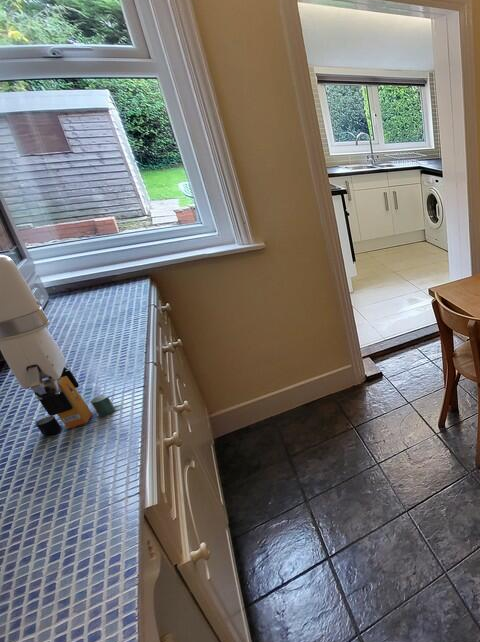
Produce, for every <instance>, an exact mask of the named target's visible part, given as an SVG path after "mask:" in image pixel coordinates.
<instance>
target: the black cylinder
mask: <svg viewBox="0 0 480 642" xmlns="http://www.w3.org/2000/svg"><path fill="white" fill-rule="evenodd" d="M35 426H36V427H37V428H38V430H39V432H40V433H41V435H42V436H43V437H44V438H47V437H52V436H55V435H57V434H59V433H60V432H61V431H62V430H63V428H62V426H61V424H60V423H59V422H58V420H57V419H56V417H55V415H53V416H50V415H49V416H44V417H43V418H39V420H37V421H36V422H35Z"/></svg>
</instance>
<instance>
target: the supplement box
mask: <svg viewBox="0 0 480 642" xmlns="http://www.w3.org/2000/svg"><path fill="white" fill-rule="evenodd" d="M57 383H58V386H59V389H60V392H61V391H64V393H65V394H66V396H67V398H68V399H69V401H70V402H71V404H72V406H73V408H72V409H71V410H69V411H65V412H62V413H59V414H56V415H57V416H58V417H59V418H60V420H61V422H62V423H63V424H64V425H65V427H66V428H67V429H71V428H76V427H79V426H82V425H85V424H88V422H89V420H90V418H91V417H92V416H93V412H92V411H91V409H90V407H89V406H88V404H87V402H85V400H84V399H83V397H82V395H81V394H80V392H79V391H78V390H77V388H75V387H74V386H73V384H72V383H71V381H70V380H69V379H68V377H67V376H64V377H61V378H59V379H58V380H57ZM46 386H49V387H51V388H52V385H51V383H50V384H46V385H45V387H46Z"/></svg>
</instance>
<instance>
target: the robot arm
mask: <svg viewBox="0 0 480 642" xmlns="http://www.w3.org/2000/svg"><path fill="white" fill-rule="evenodd" d="M49 325H51V322H50V320H49V318H48V316H47V315H46V313H45V311H44V310H43V307H42V306H41V305H40V303H39V301H38V299H37V297H36V296H35V294H34V293H33V291H32V288H30V286H29V284H28V282H27V281H26V279H25V277H24V276H23V274H22V272H21V271H20V269H19V268H18V265H17V264H16V262H15V261H14V260H13V259H12V258H11V257H9V256H8V255H5V254H0V352H1V354H2V356H3V359H4V360H5V362H6V364H7V365H8V367H9V370H11V372H12V374H13V376H14V378H15V379H16V381H17V382H18V384H19V386H20V387H21V388H22V389H24V390H29V389H31V390H32V391H33V393H34V396H36V399H37V400H38V401H39V402H40V404H41V405H42V407H43V408H44V410H45V411H46V413H47V414H48V415H49V416H56V415H57V414H59V413H62V412H65V411H69V410H71V409H72V408H73V406H72V404H71V402H70V401H69V399H68V398H67V396H66V394H65V393H64V391H61V392H60V389H59V386H58V383H57V380H58V379H59V378H61V377H64V376H67V377H68V379H69V380H70V381H71V383H72V384H73V386H74V387H75V389H77V388H79V387H80V384H79V383H78V380H77V379H76V377H75V376H74V374H73V372H72V371H71V369H70V368H69V366H68V365H67V363H66V357H65V355H64V354H63V352H62V349H61V348H60V346H59V344H58V343H57V342H56V341H57V340H55V338H54V337H53V335H52V334H51V332H50V331H49V329H48V328H47V327H49ZM50 383H51V385H52V388H51V387H49V386H46V387H45V385H46V384H50Z"/></svg>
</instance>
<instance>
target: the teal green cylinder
mask: <svg viewBox="0 0 480 642" xmlns="http://www.w3.org/2000/svg"><path fill="white" fill-rule="evenodd" d="M90 404H91V405H92V406H93V408H94V410H95V412H96V413H97V415H98V416H99V417H105V416H108V415H110V414H112V413H113V412H114V411H116V408H115V406H114V405H113V403H112V401H111V399H110V398H109V395H108V394H102V395H101V394H100V395H98V396H95V397H94V398H93V399H91V400H90Z"/></svg>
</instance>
